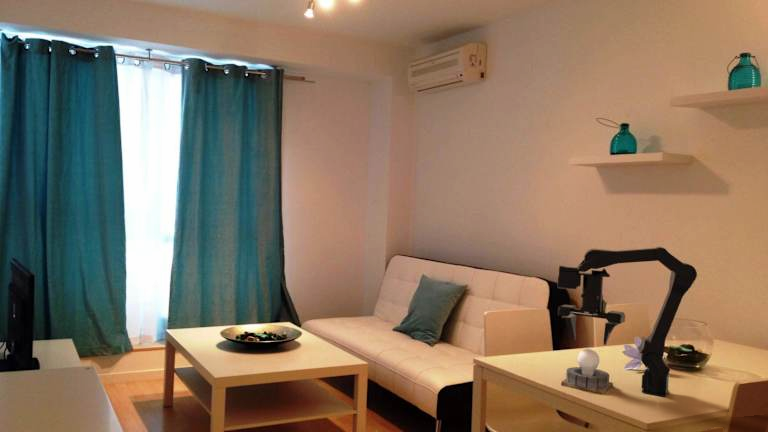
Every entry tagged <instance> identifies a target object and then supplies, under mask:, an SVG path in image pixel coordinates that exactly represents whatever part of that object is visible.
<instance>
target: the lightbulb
mask: <svg viewBox="0 0 768 432" xmlns="http://www.w3.org/2000/svg"><path fill="white" fill-rule="evenodd" d="M576 359H577V363H578V366H579V367H581V369H582V374H583V375H586V376H593V375H594V371H595V369H598V367H599V365H600V362H601V361H600V360H601V359H600V356H599V354H598V353H597V351H595V350H593V349H591V348H585V349H582V350H581V351H579V352H578V354H577V358H576Z"/></svg>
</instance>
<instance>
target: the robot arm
mask: <svg viewBox="0 0 768 432" xmlns="http://www.w3.org/2000/svg"><path fill="white" fill-rule="evenodd" d="M641 262H644V263H645V262H660V264H661V265H663V266H664V267H665V268H666V269H668V270H669V271H670V272H671V273H670V275H669V276H670V277H669V282H668V283H669V284H668V285H669V286H668V291H667V294H666V296H665V299H664V300H663V303H662V306H661V308H660V311H659V313H658V316H657V319H656V321H655V323H654V326H653V329H651V330H652V331H651V333H650V335H649V336H647V338H646V337H645V336H642V337H641V339H640V340H641V344H640V346H639V347H638V350H639V357H640V359H641V361H642V363H643V364H642V365H644V367H645V366H646V367H647V368H648V369H647V368H645V370H643V371H644V373H643V374H642V375H641V393H645V394H650V395H655V396H660V397H666V396H667V395H668V394H669V393H670V389H669V379H670V377H669V376H670V371H671V369H670V368H669V366H668V365H667V363H666V362H665V360H663V359H664V358H663V356H664V354H665V345H666V339H667V336H668V335H669V332H670V330H671V327H672V324H673V321H674V319H675V317H676V315H677V313H678V309H679V307H680V306H681V305H680V304H681V302H682V300H683V298H684V296H685V294H686V293H687V292H688V291H689V290H690V288H691V287H692V285H693V284H694V282H695V281H696V279H697V277H698V273H697V270H696V268H695V267H694V266H693V265H691V264H690V263H687V262H684V261H683V262H682V261H681V260H679V259H678V258H676V257H675V256H674V255H672V254H671V253H670V252H669V251H668V250H667V249H666V248H664V247H662V246H657V247H651V248H636V249H635V248H634V249H633V248H632V249H621V250H611V249H603V248H589V249H587V251H586V252H585V253H584V255H583V260H582V261H581V262H580V263H578V266H576V267H575V266H565V265H559V266H558V275H557V286H556V287H557V289H564V290H565V289H568V290H577V289H578V288H579V287H581V285H582V293H581V294H580V297H581V307H580V308H577V306H576V305H570V304H562V305H560V306H558V309H557V316H561V319H562V320H563V319H564V321H565V323H566V325H567V327H568V329H569V332H570V335H571V338H572V340H573V341H575V340H576V336H577V329H576V328H577V326H576V325H577V324H576V322H577V318H578V317H577V316H582V317H591V318H596V319H603V320H604V319H605V320H606V321H607V322H605V324H604V331H603V332H604V334H603V345H604V346H606V345H607V343H608V341H609V339H610V337H611V334H612V331H613V330H614V328H615V327H617V326H618V325H620V324H623V323H625V322H626V314H625V312H624V311H618V310H617V311H616V310H611V311H608V312H607V311H606V309H607V304H608V303H607V302H606V301H605V299H604V294H603V285H604V283H603V282H604V278H610V277H611V275H610V274H609V272H607V270H606V268H607V267H609V266H614V265H617V264H629V263H641ZM605 267H606V268H605ZM600 269H601V270H600ZM587 271H590V272H587Z"/></svg>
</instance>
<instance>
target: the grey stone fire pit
mask: <svg viewBox="0 0 768 432" xmlns="http://www.w3.org/2000/svg"><path fill="white" fill-rule="evenodd" d="M560 385H561V386H563V387H568V388H572V389H574V388H575V389H579V390H583V391H584V390H585V391H589V392H593V393H599V394H604V393H606V392H607V391H608V390H610V389H611V388H612V387H613V386H614V383H613V382H612V381H610V374H609V372H607V371H604V370H601V369H598V368H596V369H595V371H594V375H593V376H586V375H583V374H582V369H581V367H580V366H579V367H578V366H574V367H573V366H572V367H569V368H567V369H566V376H565V379H563V380H562V381H561V382H560Z"/></svg>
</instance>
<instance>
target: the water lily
mask: <svg viewBox="0 0 768 432" xmlns="http://www.w3.org/2000/svg"><path fill="white" fill-rule="evenodd" d="M641 340H642V339H641V338H640V337H639V336H634V344H635V346H632V345H631V344H624V345H623V348H624V350H622V352H621V353H622V354H623V355H624V356H625V357H628V358H630V359H631V360H630V361H629V362H627V363H626V364H625V366H624V368H623V370H636V369H638V368H640V367H641V366H642V365H644V364H643V363H642V361H641V359H640V357H639V350H638V347H639V346H640V344H641ZM664 358H665V356H664V355H663V359H664ZM644 368H645V369H648V368H647V367H646V366H645V365H644Z"/></svg>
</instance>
